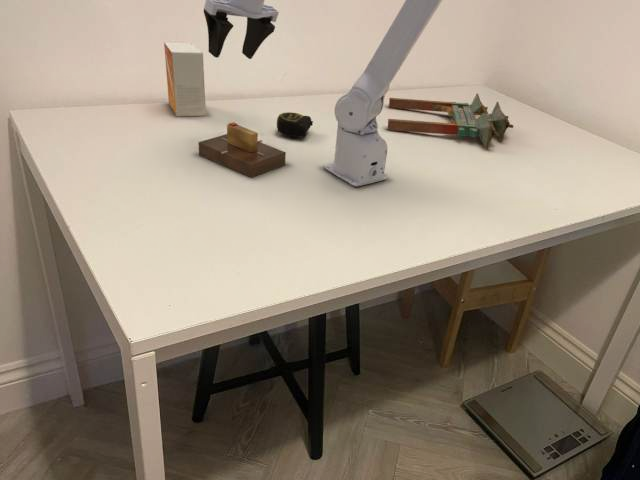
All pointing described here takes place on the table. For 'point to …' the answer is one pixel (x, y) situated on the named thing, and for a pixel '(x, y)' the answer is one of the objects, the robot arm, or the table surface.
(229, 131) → the thumb turn
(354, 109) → the robot arm
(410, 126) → the miniature gate
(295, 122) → the tape measure
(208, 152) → the plate
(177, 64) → the small box
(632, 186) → the table surface
